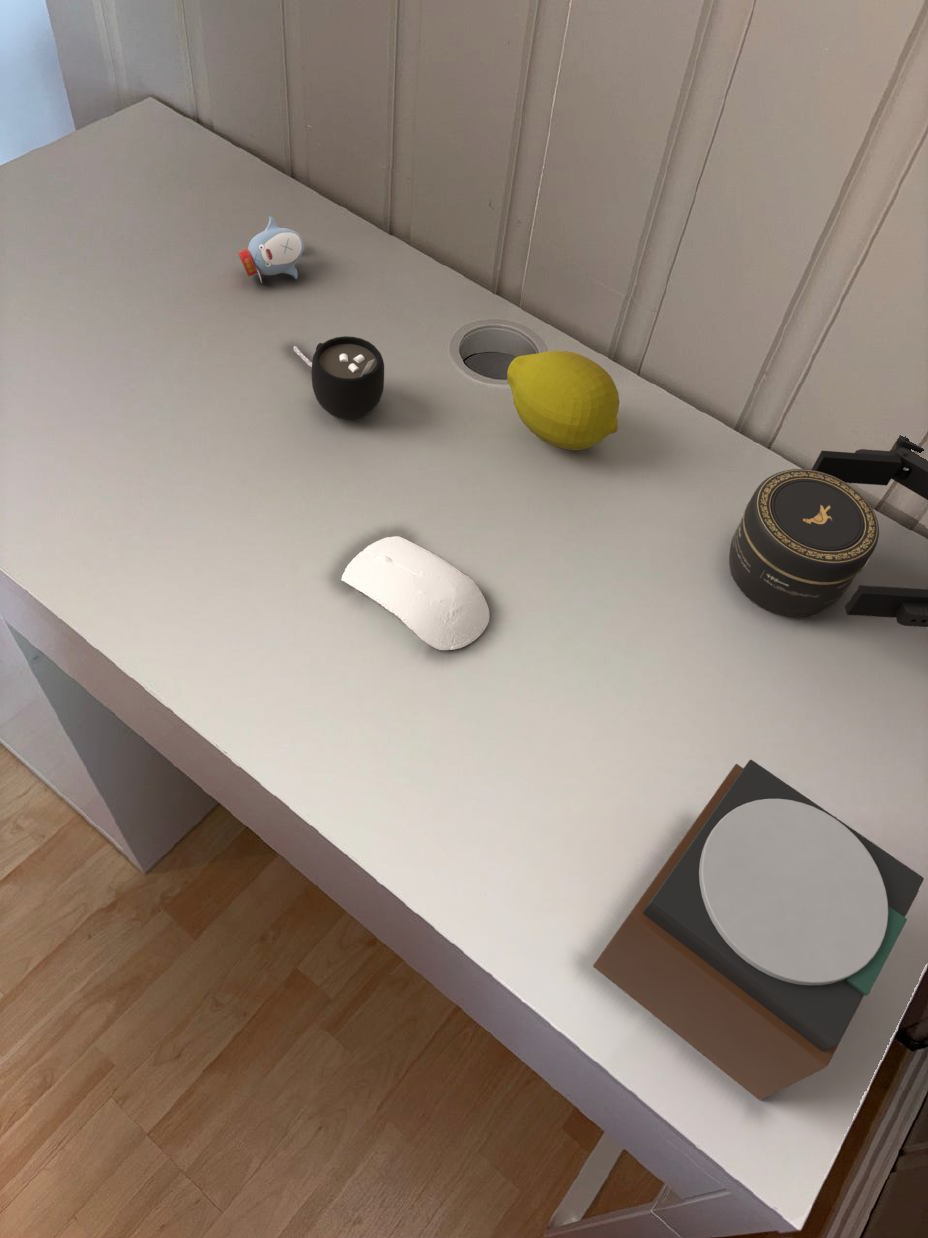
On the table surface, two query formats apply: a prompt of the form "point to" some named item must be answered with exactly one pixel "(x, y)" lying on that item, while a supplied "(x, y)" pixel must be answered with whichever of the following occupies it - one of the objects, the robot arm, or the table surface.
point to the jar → (802, 542)
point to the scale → (762, 931)
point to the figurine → (273, 251)
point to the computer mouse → (420, 592)
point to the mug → (347, 376)
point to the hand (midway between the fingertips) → (833, 529)
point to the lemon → (564, 398)
